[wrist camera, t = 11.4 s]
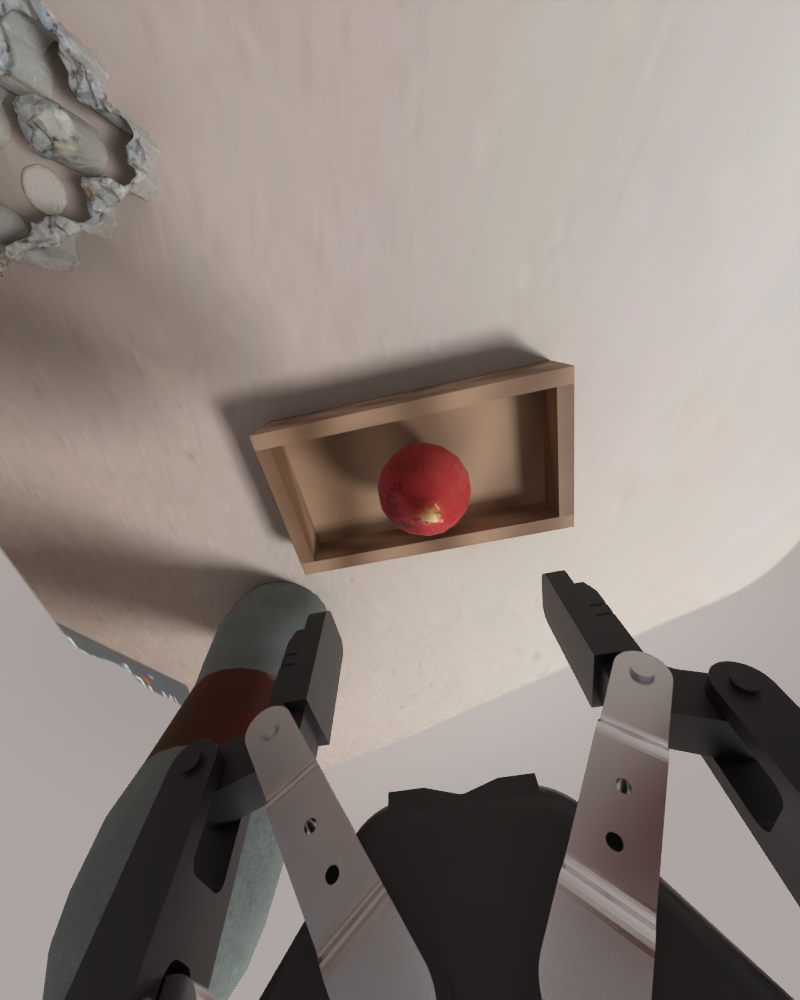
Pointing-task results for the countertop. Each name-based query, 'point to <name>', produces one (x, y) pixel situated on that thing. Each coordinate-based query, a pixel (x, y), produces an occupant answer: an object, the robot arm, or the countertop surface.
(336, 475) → the wooden tray
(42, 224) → the egg carton
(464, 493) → the onion
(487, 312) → the countertop surface
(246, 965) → the bottle
